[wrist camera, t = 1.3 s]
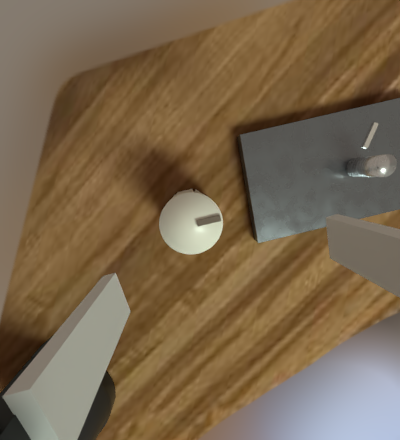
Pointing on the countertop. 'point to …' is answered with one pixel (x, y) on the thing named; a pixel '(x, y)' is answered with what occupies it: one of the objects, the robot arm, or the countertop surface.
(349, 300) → the countertop surface
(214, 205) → the knob
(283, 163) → the panel
